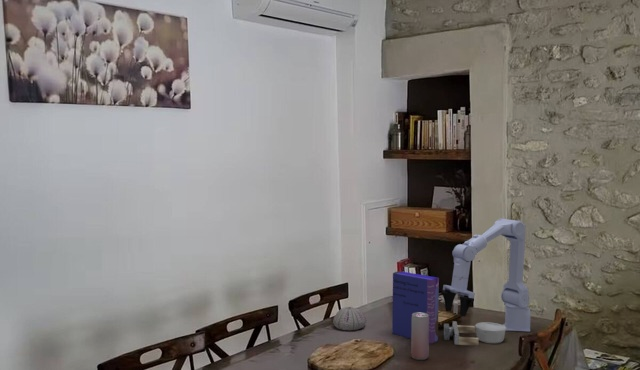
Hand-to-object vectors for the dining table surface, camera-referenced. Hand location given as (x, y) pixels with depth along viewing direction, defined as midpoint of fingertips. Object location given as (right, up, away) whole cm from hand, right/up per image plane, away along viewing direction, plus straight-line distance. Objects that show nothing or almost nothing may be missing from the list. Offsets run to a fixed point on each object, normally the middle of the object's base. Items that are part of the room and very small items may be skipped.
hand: (455, 313), depth 227 cm
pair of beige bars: (+6, -10, +4) cm, 13 cm away
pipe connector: (+9, -8, +38) cm, 40 cm away
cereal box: (-14, -10, +6) cm, 18 cm away
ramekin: (+14, -11, +3) cm, 18 cm away
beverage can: (-16, -12, -16) cm, 26 cm away
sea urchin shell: (-38, -10, +19) cm, 44 cm away
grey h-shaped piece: (-1, -10, +5) cm, 11 cm away
